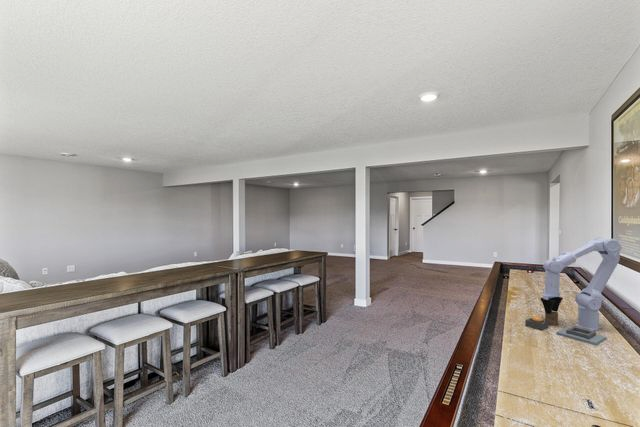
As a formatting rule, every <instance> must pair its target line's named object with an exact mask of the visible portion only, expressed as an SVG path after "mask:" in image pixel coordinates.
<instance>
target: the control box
mask: <svg viewBox="0 0 640 427" xmlns="http://www.w3.org/2000/svg"><path fill="white" fill-rule="evenodd" d="M524 321H525V322H524V324H525V327H529V328H532V329H535V330H539V331H544V330H546V329H549V325H548V321H545V319H542V323H538V322H535V321H532V317H529V318H526V319H525V320H524Z"/></svg>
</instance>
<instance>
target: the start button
mask: <svg viewBox="0 0 640 427" xmlns="http://www.w3.org/2000/svg"><path fill="white" fill-rule="evenodd" d="M531 318H532V321H535V322H538V323H542V320H543V317H540V316H535V315H533V316H531Z"/></svg>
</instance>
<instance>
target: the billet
mask: <svg viewBox="0 0 640 427" xmlns="http://www.w3.org/2000/svg"><path fill="white" fill-rule="evenodd" d="M544 321H548V326H551V327H552V326H553V327H556V326H558V325H559V312H558V311H557V312H555V311H552V312H551V314H547V313H545V312H544Z"/></svg>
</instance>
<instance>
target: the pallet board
mask: <svg viewBox="0 0 640 427" xmlns="http://www.w3.org/2000/svg"><path fill="white" fill-rule="evenodd" d="M555 333H556V335H557V336H561V337H564V338H568V339H571V340H575V341H580V342H583V343H587V344H590V345H594V346H598V345H599V344H601V343H602V342H605V341H606V340H607V336H606V335H602V334H597V332H596V331H593V330H589V329H585V328H581V327H577V326H571V327H570V326H566V327H564V328H562V329H560V330H557V331H556V332H555Z"/></svg>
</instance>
